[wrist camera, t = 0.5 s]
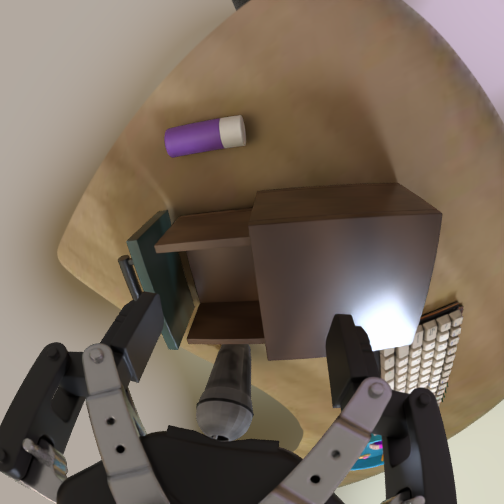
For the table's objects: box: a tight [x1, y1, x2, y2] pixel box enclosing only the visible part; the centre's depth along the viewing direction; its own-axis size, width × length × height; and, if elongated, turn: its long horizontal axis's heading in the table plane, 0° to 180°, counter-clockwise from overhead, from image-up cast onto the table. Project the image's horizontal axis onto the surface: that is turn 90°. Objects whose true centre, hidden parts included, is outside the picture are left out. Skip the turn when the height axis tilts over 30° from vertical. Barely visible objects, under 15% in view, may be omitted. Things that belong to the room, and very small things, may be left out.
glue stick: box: [165, 115, 246, 157], centre depth 25 cm, size 8×3×3 cm, turn 97°
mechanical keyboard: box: [372, 302, 463, 436], centre depth 41 cm, size 38×19×3 cm, turn 22°
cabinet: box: [248, 183, 442, 361], centre depth 26 cm, size 16×15×10 cm
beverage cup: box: [196, 344, 254, 442], centre depth 31 cm, size 7×7×20 cm
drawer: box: [118, 208, 265, 350], centre depth 28 cm, size 19×14×8 cm
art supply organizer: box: [351, 434, 384, 470], centre depth 55 cm, size 30×30×6 cm
